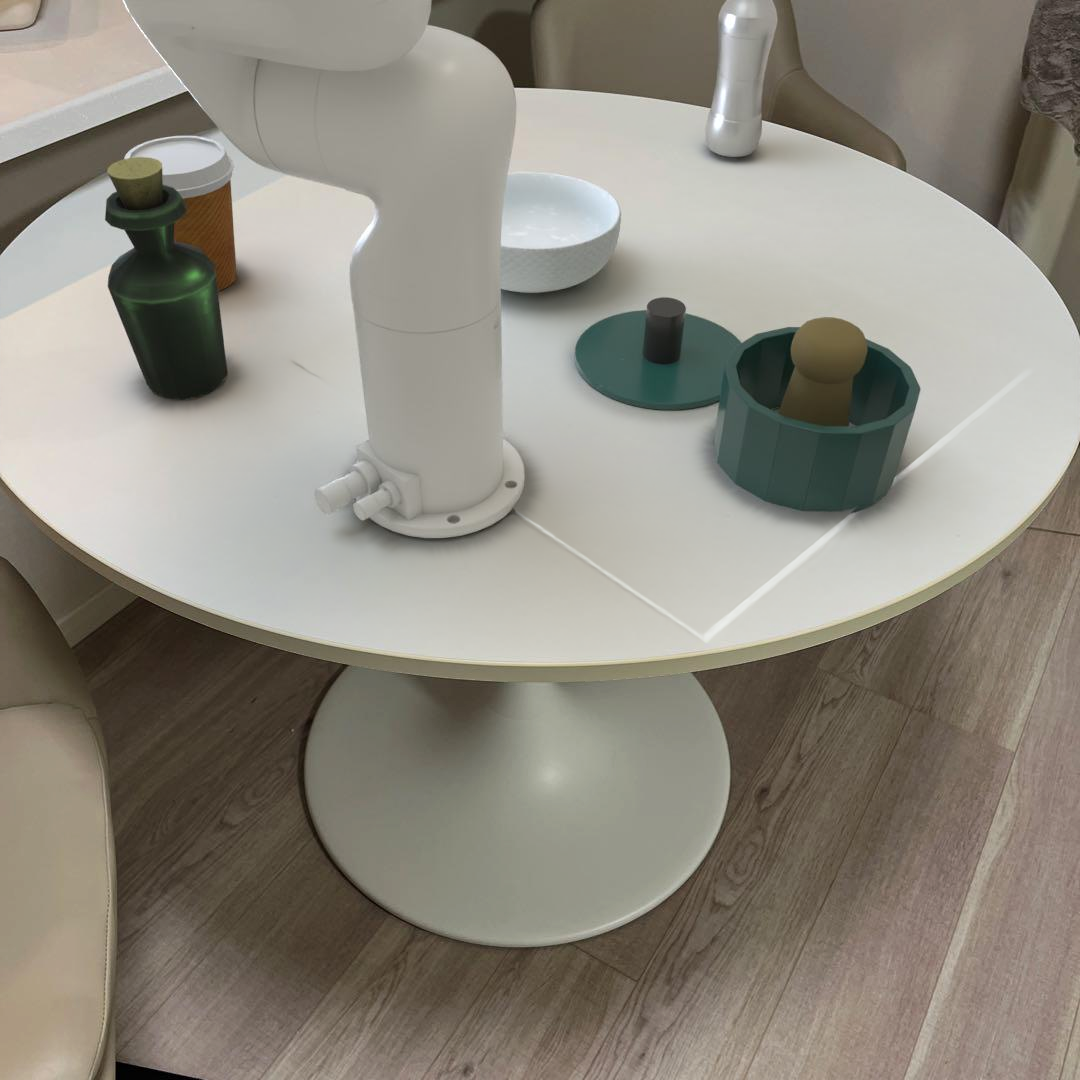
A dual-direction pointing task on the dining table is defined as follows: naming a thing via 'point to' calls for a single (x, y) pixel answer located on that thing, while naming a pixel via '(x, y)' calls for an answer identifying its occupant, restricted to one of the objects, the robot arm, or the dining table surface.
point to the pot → (812, 429)
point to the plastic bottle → (740, 76)
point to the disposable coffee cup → (199, 196)
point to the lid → (656, 357)
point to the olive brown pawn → (824, 371)
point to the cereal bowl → (555, 231)
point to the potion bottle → (164, 286)
